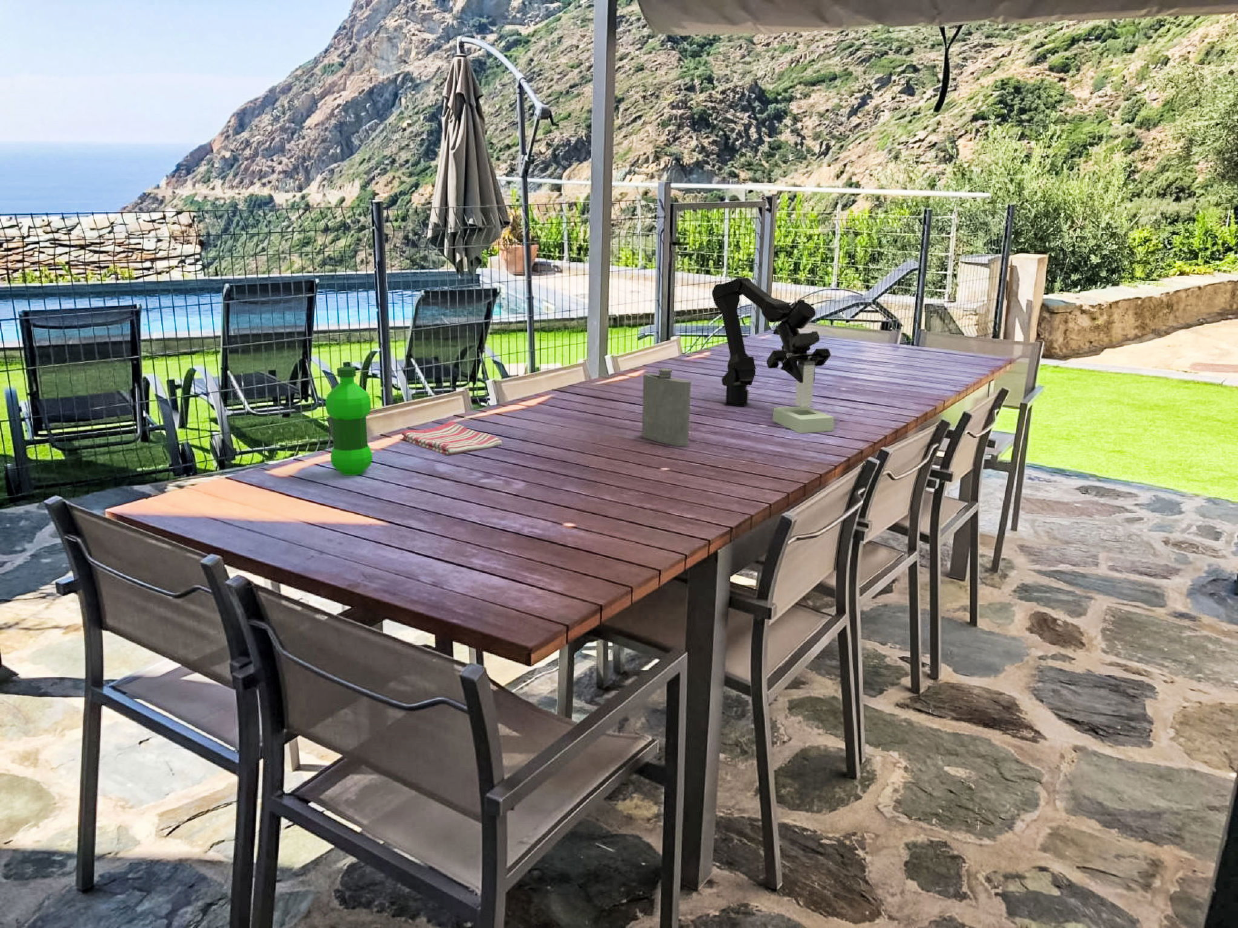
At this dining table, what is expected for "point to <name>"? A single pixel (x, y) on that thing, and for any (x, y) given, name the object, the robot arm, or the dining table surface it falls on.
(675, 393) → the hip flask
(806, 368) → the pale grey square post
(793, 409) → the post foot
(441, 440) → the dish towel
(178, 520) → the dining table surface
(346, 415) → the plastic bottle
